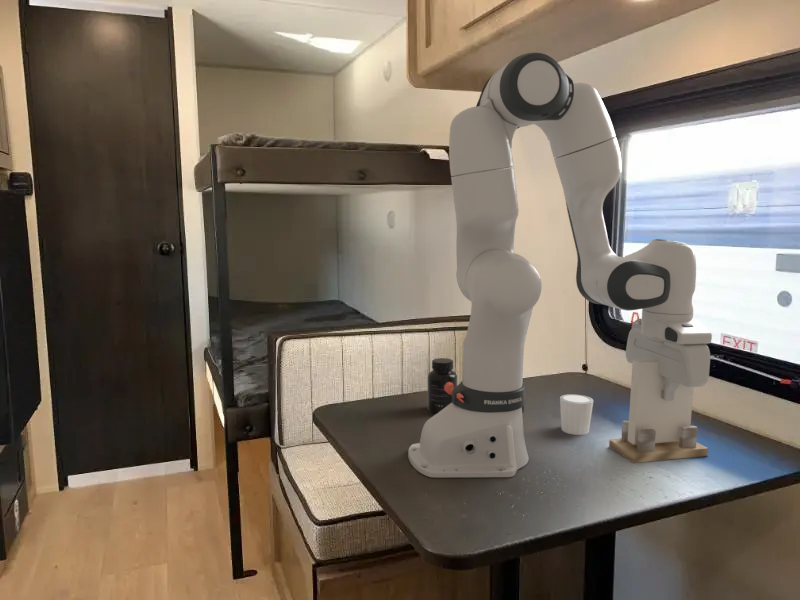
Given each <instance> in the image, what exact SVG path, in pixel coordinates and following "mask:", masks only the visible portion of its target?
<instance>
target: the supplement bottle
mask: <svg viewBox="0 0 800 600" xmlns="http://www.w3.org/2000/svg"><path fill="white" fill-rule="evenodd" d="M431 369H432V370H430V371H429V373H428V375H427V410H428V411H429V412H430V413H431V414H434V415H436V414H437V413H438V412H440V411H441V410H442V409H444V408H445V407H446V406H448V405H449V404H450V403H452V395H450V394H448V393H447V392H446V391H445V390H444V389H445V388H444V387H445V386H444V385H446V383H448V382H451V383H453V385H455V386H457V385H458V375H457V373H456V372H455V371H454V360H453V359H452V358H445V357H443V358H442V357H438V358H434V359H432V361H431Z"/></svg>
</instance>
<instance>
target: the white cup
mask: <svg viewBox="0 0 800 600" xmlns="http://www.w3.org/2000/svg"><path fill="white" fill-rule="evenodd" d="M559 405H560V427H561V428H560V429H561V431H563V433H566V434H568V435H575V436H581V435H583V436H584V435H587V434H589V432H590V427H591V420H592V415H593V414H592V413H593V407H594V398H592V397H590V396H587V395H585V394H584V395H583V394H576V393H573V394H572V393H569V394H563V395H561V396H560V397H559Z"/></svg>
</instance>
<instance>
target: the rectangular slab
mask: <svg viewBox="0 0 800 600" xmlns="http://www.w3.org/2000/svg"><path fill="white" fill-rule="evenodd" d="M631 367H632V368H631V382H630V383H631V384H630V397H629V410H628V411H629V412H628V413H629V414H628V420H629V426H628V441H629V442H630V443H632V444H634V445H637V443H638V430H645V429H654V430H655V431H656V436H655V443H663V442H675V441H679V438H680V427H682V426H692V425H691V424H692V423H691V422H692V412H693V400H694V399H693V397H694V388H695V387H687V386H685V385H682V384H680V385H679V386H678V388H677V389H676V391H675V392H674V400H673V401H666V400H664V399H662V398H661V395H662V394H661V390H665V388H666V385H667V383H665V377H663V376H661V375H659V373H658V369H659V361H656V360H653V359H641V360H633V364H631Z"/></svg>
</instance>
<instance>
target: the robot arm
mask: <svg viewBox="0 0 800 600" xmlns="http://www.w3.org/2000/svg"><path fill="white" fill-rule="evenodd" d="M531 125H535V126H536V127H538V128H539V129H541V131H542V132H543V133H544V135H545V136H546V137H547V141H549V144H550V145H549V146H550V149H551V152H552V157H553V159H554V163H555V166H556V170H557V173H558V177H559V180H560V183H561V185H562V186H561V187H562V189H563V194H564V195H563V196H564V199H565V205H566V210H567V215H568V220H569V224H570V228H571V232H572V237H573V242H574V246H575V249H576V251H575V252H576V257H577V264H576V277H575V281H576V282H575V283H576V287H577V289H578V291H579V293H580V295H581V297H583V298H584V299H585V300H587V301H588V302H590V303H592V304H596V305H604V306H608V307H611V308H614V309H618V310H623V311H637V310H641V318H636V320H635V321H634V322H633V323H632V325H631V329H630V331H629V332H628V335H627V342H626V349H625V359H626V361H627V363H629V364H631V365H632V364H633V360H641V359H653V360H656V361H659V369H658V373H659V375H661V376H663V377H665V383H667V385H666V388H665V390H661V394H662V395H661V398H662V399H664V400H666V401H673V400H674V392H675V391H676V389H677V388H678V386H679V385H680V384H682V385H685V386H687V387H694V388H699V387H704V386H705V385H706V384H707V382H708V381H709V377H710V366H711V351H710V348H709V346H708V344H710V343H711V342H712V337H713V334H712V332H711V331H710V330H708V328H706V327H705V326H704V325H702V324H701V323H700V322H699V321H698V320H697V319H696V318H694V307H693V297H694V294H695V290H696V282H697V259H696V253H695V249H694V248H693V247H692V246H691V245H689V244H687V243H685V242H682V241H677V240H676V241H675V240H671V239H669V240H668V239H664V238H656V239H652V240H651V241H650V242H649V243H648V244H647V245H645V246H644V247H642V248H641V249H639V250H637V251H635V252H632V253H630V254H627V255H625V256H618V255H617V254H616V253H615V252H614V250H612V248H611V246H610V241H609V238H608V236H609V235H608V232H607V227H606V222H605V218H604V214H603V213H604V212H603V207H604V202H605V200H606V197H607V196H608V194H609V193H610V192H611V191H612V190H613V188H615V186H616V185H617V183H618V182H619V180H620V179H621V178H620V177H621V175H622V172H623V168H622V167H623V165H622V163H623V162H622V156H621V149H620V146H619V142H618V139H617V137H616V136H617V135H616V132H615V129H614V125H613V122H612V120H611V117H610V114H609V113H608V110H607V108H606V106H605V104H604V101H603V100H602V97H601V96H600V94H599V92H598V90H597V89H596V88H595V87H594V86H592V85H591V84H588V83H583V82H575V83H574V80H572V78H571V77H570V76H569V75H568V74H567V73H566V72H565V71H564V69H563V68H562V66H561V65H560V64H559V63H558V61H556V60H555V59H554V58H553V57H552V56H550V55H548V54H545V53H541V52H528V53H527V52H526V53H523V54H520V55H518V56H516V57H514V58H513V59H512V60H511V61H509V62H506V63H505V64H503V65H501V66H500V67H499V68H498V69H497V70H496V71H495V72H494V73H493V75H491V76H490V77H489V78H488V79H487V81H486V82H485V84H484V85H483V88H482V90H481V92H480V95H479V98H478V101H477V103H476V106H471V107H468V108H466V109H464V110H462V111H460V112H459V113H457V114H456V115H455V116H454V117H453V119H452V121H451V124H450V125H449V126H450V127H449V136H448V137H449V139H448V141H449V142H448V145H449V146H448V147H449V148H448V150H449V151H448V153H449V155H448V156H449V159H448V160H449V171H450V176H451V177H450V179H451V187H452V197H453V205H454V211H455V212H454V213H455V220H456V221H455V223H456V244H455V245H456V273H455V274H456V276H455V277H456V282H457V285H458V288H459V290H460V292H461V293H462V295H463V296H464V297H465V298H466V299H467V300H468V301H470V302H471V309H470V317H469V321H468V326H467V331H466V335H465V337H464V338H463V342H462V343H463V344H462V378H461V381H460V382H459V383H458V384H457V386H455V385H453V383H451V382H448V383H446V385H444V386H445V387H444V388H445V389H444V390H445V391H446V392H447V393H448V394H450V395H452V403H450V404H449V405H448V406H446V407H445V408H444V409H442V410H441V411H440V412H438V413H437V414H434V415H433V416H431V417H430V418H428V419H427V420H426V421H425V422H424V424H423V427H422V430H421V435H420V440H419V442H417V443H412V444H411V445H410V446H409V448H408V450H407V451H408V452H407V458H408V460H409V462H410V464H411V466H412V468H414V469H415V470H416V471H417V472H419V473H420V474H422V475H424V476H425V477H428V478H511V477H514V476H516V474H517V471H518V470H519V469H521V468H523V467H525V466H526V465H527V464H528V463H529V460H530V457H529V455H528V451H527V448H526V445H527V444H526V442H525V441H526V440H525V434H524V424H523V422H524V421H523V420H524V419H523V414H524V412H525V404H526V403H525V401H526V399H525V398H526V395H525V394H526V393H525V392H526V391H525V384H524V383H523V378H524V376H523V375H524V356H525V353H524V352H525V343H526V338H527V334H528V329H529V325H530V320H531V317H532V313H533V309H534V307H535V306H536V305H537V302H538V301H539V299H540V297H541V293H542V279H541V276H540V274H539V271H538V270H537V269H536V268H535V267H534V265H533V264H532V263H531V262H530V261H529V260H527V258H526V257H524V256H522V255H520V254H519V253H515V247H514V246H515V245H514V243H515V232H516V231H515V230H516V224H517V219H518V216H519V210H520V209H519V202H518V194H517V192H518V191H517V185H516V175H515V168H514V159H513V153H512V146H513V138H514V134H515V132H516V130H517V129H519V128H520V129H521V128H523V127H529V126H531Z"/></svg>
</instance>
